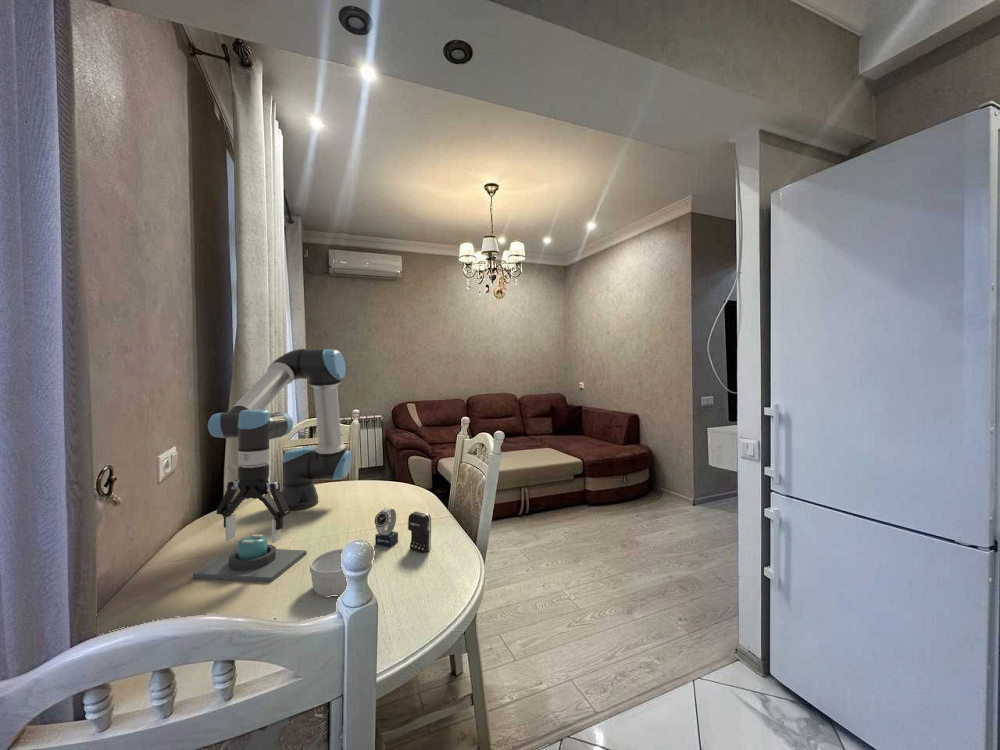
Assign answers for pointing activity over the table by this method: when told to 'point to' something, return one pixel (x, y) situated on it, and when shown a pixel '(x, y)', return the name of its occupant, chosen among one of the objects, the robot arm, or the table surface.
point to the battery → (420, 531)
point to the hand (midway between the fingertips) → (253, 539)
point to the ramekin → (328, 574)
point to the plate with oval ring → (251, 566)
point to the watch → (381, 522)
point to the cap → (252, 547)
